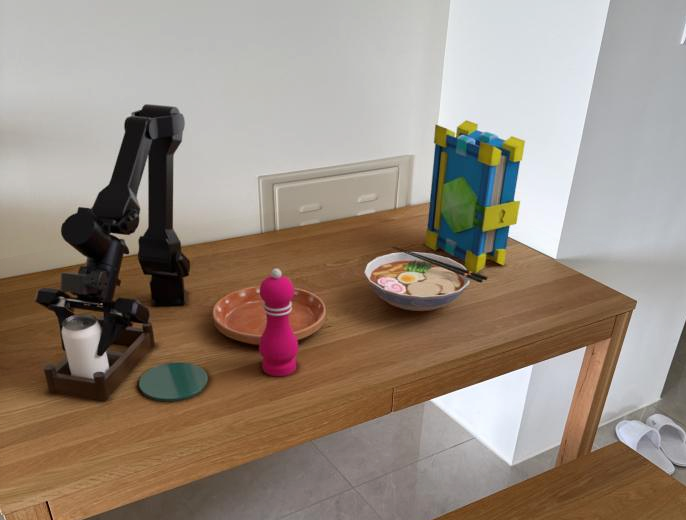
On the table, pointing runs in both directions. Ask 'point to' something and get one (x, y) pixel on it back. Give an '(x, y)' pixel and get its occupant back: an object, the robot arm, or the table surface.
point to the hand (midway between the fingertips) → (81, 353)
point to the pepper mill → (278, 326)
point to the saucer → (250, 319)
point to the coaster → (173, 381)
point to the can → (83, 345)
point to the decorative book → (473, 194)
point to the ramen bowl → (418, 279)
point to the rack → (111, 379)
